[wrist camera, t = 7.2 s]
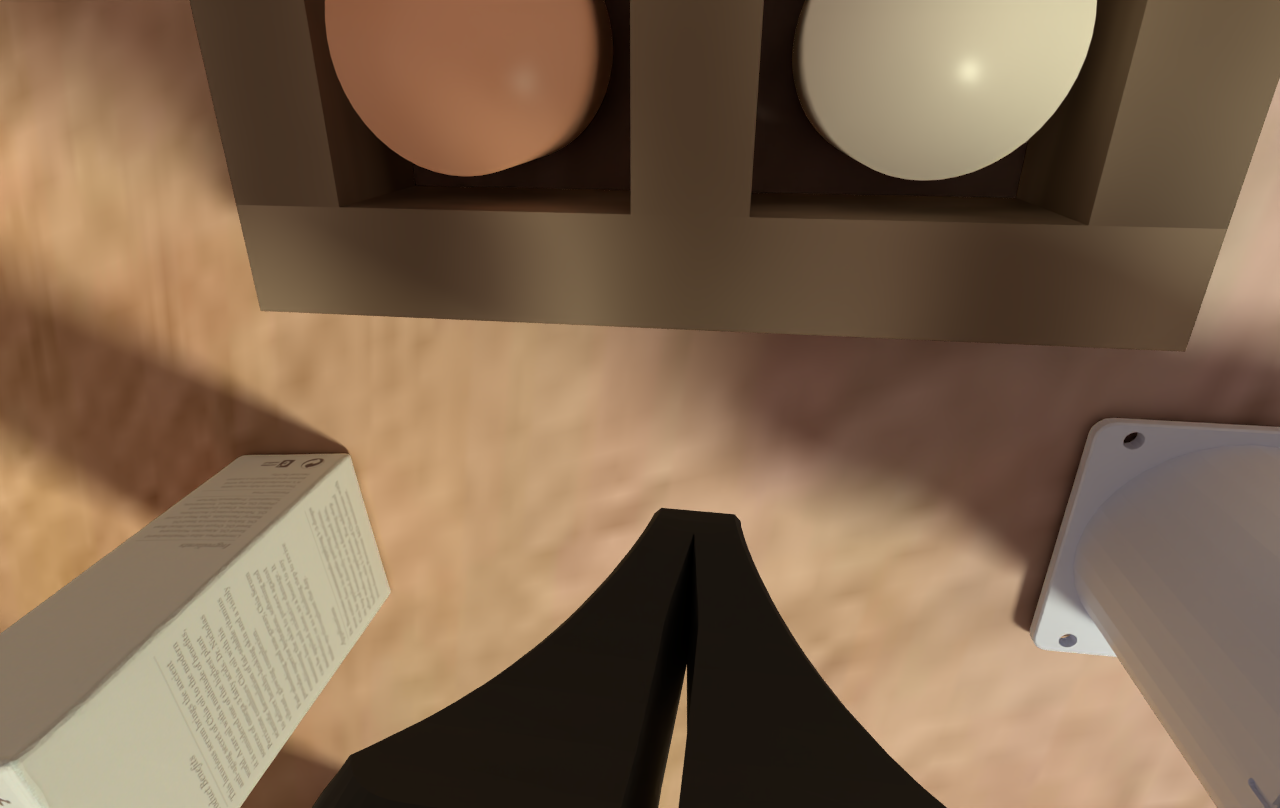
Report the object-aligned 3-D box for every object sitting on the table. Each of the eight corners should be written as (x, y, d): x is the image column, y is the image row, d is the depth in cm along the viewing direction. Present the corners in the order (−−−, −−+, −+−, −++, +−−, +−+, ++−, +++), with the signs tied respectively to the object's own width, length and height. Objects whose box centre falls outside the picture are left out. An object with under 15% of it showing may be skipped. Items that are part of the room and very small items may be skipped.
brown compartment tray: (1261, -293, 13) (1457, -439, 10) (1096, 299, 18) (1184, 351, 14) (258, -235, 16) (112, -333, 12) (345, 272, 20) (260, 310, 17)
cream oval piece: (1048, -88, 14) (1133, -138, 11) (996, 165, 16) (1057, 182, 13) (803, -81, 15) (819, -127, 12) (783, 162, 17) (792, 178, 14)
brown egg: (611, -83, 15) (576, -130, 12) (614, 162, 17) (585, 178, 14) (391, -77, 16) (300, -120, 12) (419, 159, 18) (348, 174, 14)
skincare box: (239, 451, 24) (-184, 753, 13) (353, 448, 23) (9, 764, 12) (290, 594, 26) (-29, 949, 15) (396, 595, 25) (140, 968, 15)
